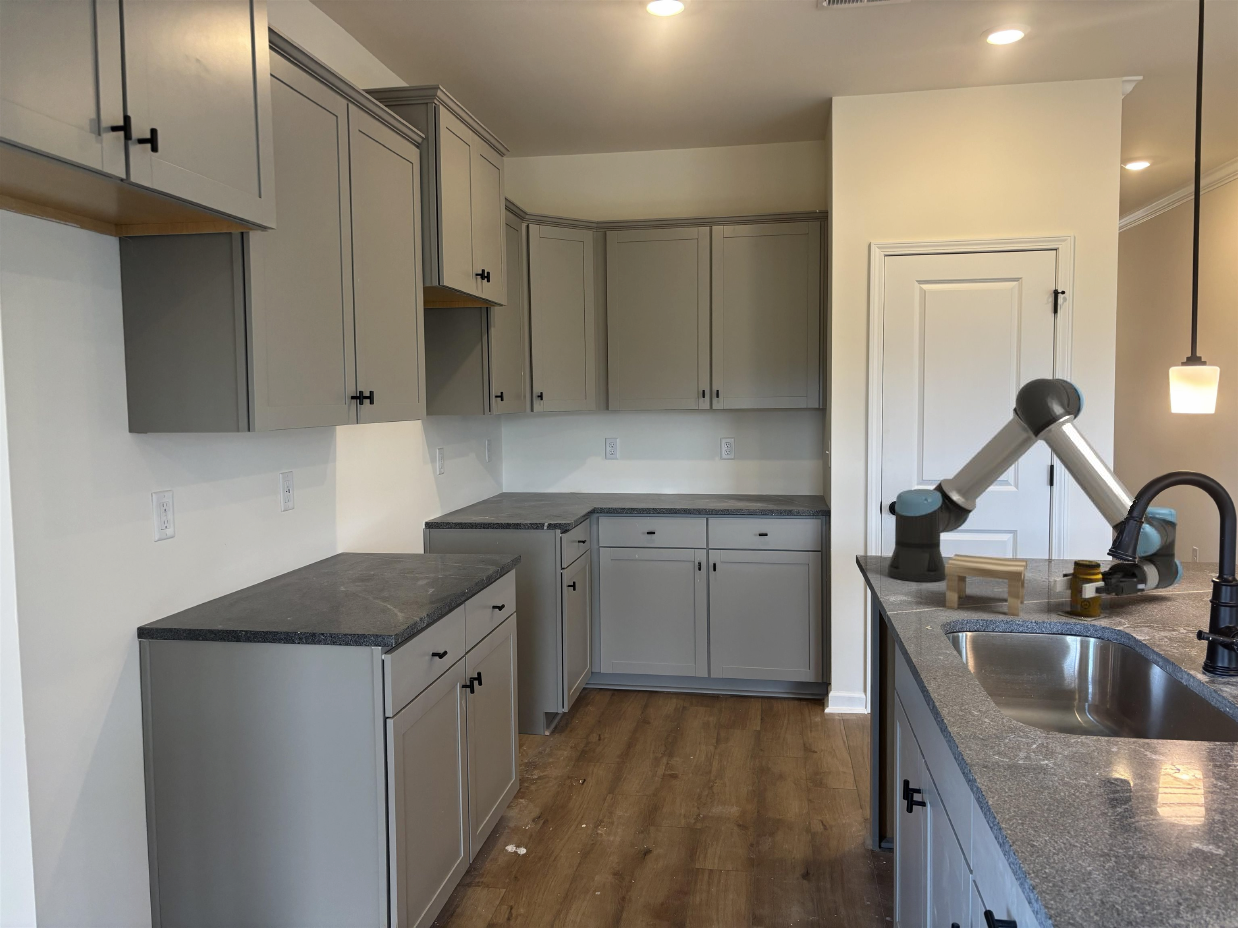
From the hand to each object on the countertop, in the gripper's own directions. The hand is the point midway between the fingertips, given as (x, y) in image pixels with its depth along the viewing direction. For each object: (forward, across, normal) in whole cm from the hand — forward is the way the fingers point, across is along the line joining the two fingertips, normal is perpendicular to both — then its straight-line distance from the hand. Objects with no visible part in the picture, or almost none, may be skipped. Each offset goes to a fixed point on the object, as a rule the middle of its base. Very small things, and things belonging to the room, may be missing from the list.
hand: (1069, 588), depth 183 cm
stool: (+5, +17, -7) cm, 19 cm away
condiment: (-5, 0, -7) cm, 9 cm away
